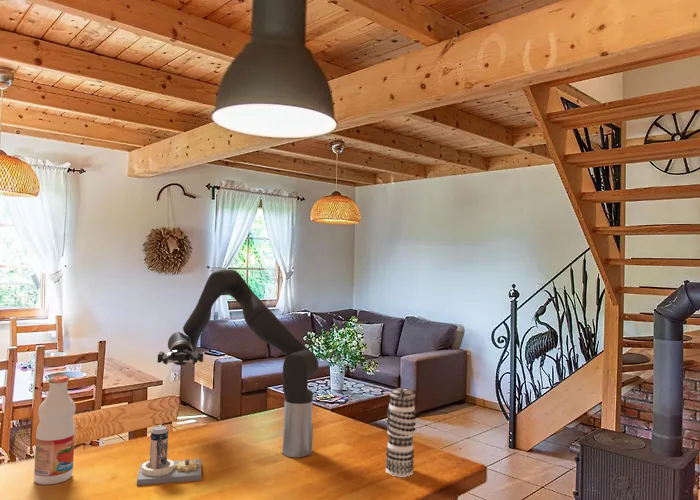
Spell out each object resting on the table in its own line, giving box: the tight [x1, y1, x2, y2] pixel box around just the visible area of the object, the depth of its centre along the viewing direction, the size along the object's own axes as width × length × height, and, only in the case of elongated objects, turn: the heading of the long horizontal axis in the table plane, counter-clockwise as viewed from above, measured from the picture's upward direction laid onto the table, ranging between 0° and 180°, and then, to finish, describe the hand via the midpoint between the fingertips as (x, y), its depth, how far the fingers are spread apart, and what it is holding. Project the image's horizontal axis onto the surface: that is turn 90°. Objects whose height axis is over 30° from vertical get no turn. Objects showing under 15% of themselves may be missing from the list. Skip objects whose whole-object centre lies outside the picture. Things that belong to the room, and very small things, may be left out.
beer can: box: [149, 425, 169, 469], centre depth 150 cm, size 5×5×12 cm
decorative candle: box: [385, 387, 418, 478], centre depth 160 cm, size 9×9×25 cm
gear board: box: [136, 458, 202, 486], centre depth 151 cm, size 17×12×4 cm
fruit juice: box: [33, 375, 76, 486], centre depth 145 cm, size 9×9×28 cm
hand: (180, 361), depth 165 cm, fingers open, 8 cm apart
